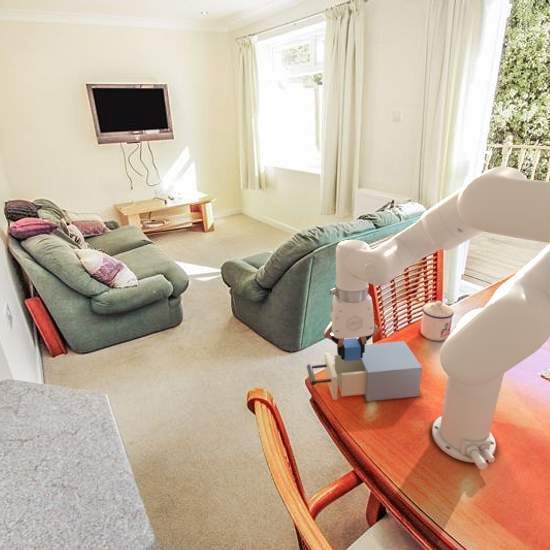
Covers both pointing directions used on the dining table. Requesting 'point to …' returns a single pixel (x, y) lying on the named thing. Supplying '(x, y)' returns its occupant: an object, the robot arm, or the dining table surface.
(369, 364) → the grey drawer cabinet
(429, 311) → the teacup with lid
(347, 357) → the blue wooden cube
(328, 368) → the drawer
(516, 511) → the dining table surface
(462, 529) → the dining table surface
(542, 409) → the dining table surface
